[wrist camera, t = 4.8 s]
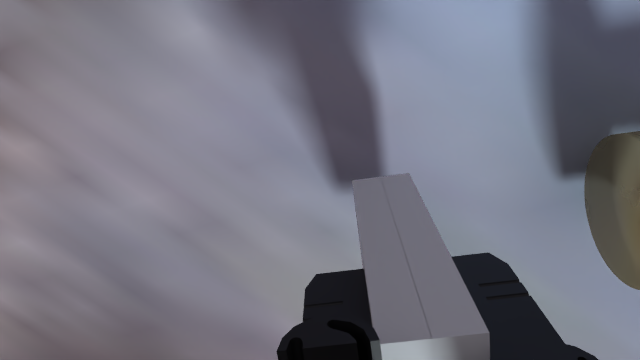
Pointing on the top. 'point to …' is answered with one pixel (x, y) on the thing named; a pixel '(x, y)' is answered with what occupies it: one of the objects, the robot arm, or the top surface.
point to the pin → (616, 204)
